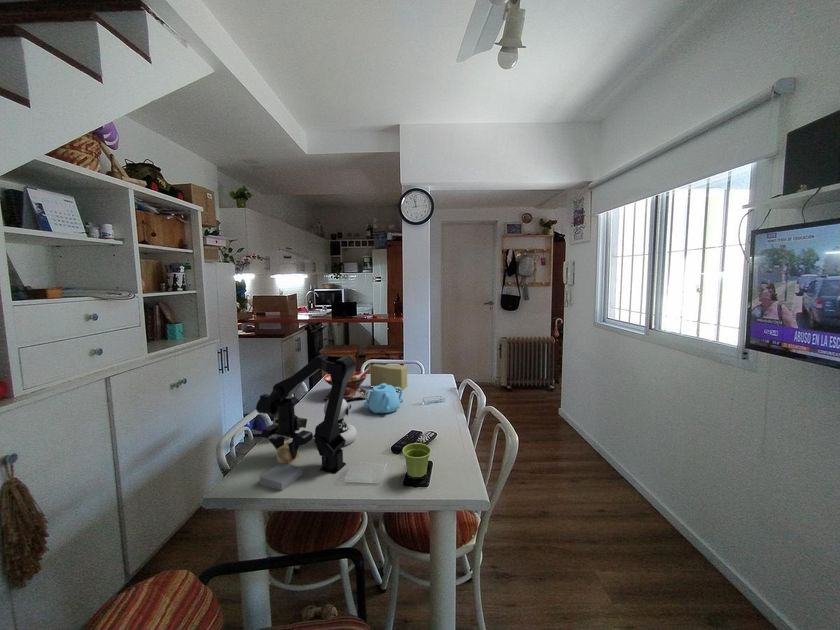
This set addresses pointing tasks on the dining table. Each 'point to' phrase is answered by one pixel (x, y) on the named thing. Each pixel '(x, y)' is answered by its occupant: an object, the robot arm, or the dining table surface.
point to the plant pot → (416, 459)
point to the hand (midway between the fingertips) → (288, 457)
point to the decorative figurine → (345, 429)
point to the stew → (351, 385)
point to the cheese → (389, 375)
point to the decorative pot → (383, 398)
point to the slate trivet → (281, 476)
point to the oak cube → (285, 454)
